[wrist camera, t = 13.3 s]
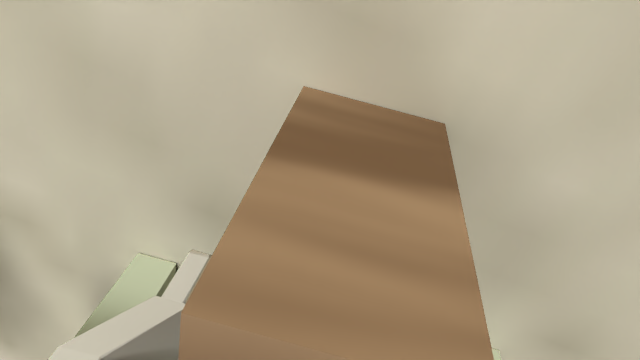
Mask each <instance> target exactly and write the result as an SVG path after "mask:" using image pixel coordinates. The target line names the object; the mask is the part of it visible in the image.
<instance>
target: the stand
mask: <svg viewBox="0 0 640 360" xmlns="http://www.w3.org/2000/svg"><path fill="white" fill-rule="evenodd" d="M175 274H176V263H173V262H169V261H166V260H162V259H158V258H155V257H151V256H147V255H143V254H140V253H138V254H137V255H136V257H135V258H134V259H133V261H132V262H131V263H130V265H129V266H128V267H127V269H126V270H125V271H124V273H123V274H122V275H121V277H120V278H119V279H118V280H117V282H116V283H115V284H114V286H113V287H112V288H111V290H110V291H109V292H108V294H107V295H106V296H105V298H104V299H103V300H102V302H101V303H100V304H99V306H98V307H97V308H96V309H95V311H94V312H93V313H92V315H91V316H90V317H89V319H88V320H87V321H86V323H85V324H84V325H83V327H82V328H81V329H80V331H79V332H78V333H77V335H76V336H75V337H77V336H79V335H81V334H83V333H85V332H87V331H88V330H90V329H92V328H94V327H96V326H98V325H100V324H102V323H104V322H106V321H108V320H110V319H111V318H113V317H115V316H117V315H119V314H121V313H123V312H125V311H127V310H129V309H131V308H133V307H134V306H136V305H138V304H140V303H142V302H144V301H146V300H148V299H150V298H152V297H154V296H159V297H161V296H162V295H163V293H164V292H165V290H166V288H167V287H168V285H169V283H170V282H171V280H172V279H173V277H174V275H175ZM75 337H74V338H75ZM492 353H493V358H494V360H501V357H500V353H499V350H496V349H492Z"/></svg>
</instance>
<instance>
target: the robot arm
mask: <svg viewBox="0 0 640 360" xmlns="http://www.w3.org/2000/svg"><path fill="white" fill-rule="evenodd" d="M211 256H212V255H209V254H206V253H203V252H199V251H196V250H191V251H190V252H189V253H188V254H187V256H186V258H185V259H184V261H183V262H182V264H181V266H180V267H179V269H178V270H177V272H176V274H175V275H174V277H173V279H172V280H171V282H170V283H169V285H168V287H167V288H166V290H165V292H164V293H163V295H162V296H161V297H159V296H154V297H152V298H150V299H148V300H146V301H144V302H142V303H140V304H138V305H136V306H134V307H133V308H131V309H129V310H127V311H125V312H123V313H121V314H119V315H117V316H115V317H113V318H111V319H110V320H108V321H106V322H104V323H102V324H100V325H98V326H96V327H94V328H92V329H90V330H88V331H87V332H85V333H83V334H81V335H79V336H77V337H75V338H73V339H71V340H69V341H67V342H66V343H64V344H62V345H60V346H58V347H57V349H56V350H55V351H54V352H53V354H52V355H51V356H50V357H49V359H48V360H178V356H179V338H180V321H181V312H182V310H183V308H184V306H185V304H186V303H187V301H188V299H189V297H190V295H191V293H192V292H193V290H194V288H195V286H196V284H197V282H198V280H199V279H200V277H201V275H202V273H203V271H204V269H205V268H206V266H207V264H208V262H209V260H210V258H211Z"/></svg>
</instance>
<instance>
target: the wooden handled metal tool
mask: <svg viewBox="0 0 640 360" xmlns="http://www.w3.org/2000/svg"><path fill="white" fill-rule="evenodd" d="M178 360H494V358H493V353H492V348H491V343H490V338H489V334H488V329H487V324H486V319H485V314H484V309H483V305H482V300H481V295H480V290H479V285H478V281H477V276H476V271H475V266H474V261H473V257H472V252H471V247H470V242H469V237H468V233H467V228H466V223H465V218H464V213H463V209H462V204H461V199H460V194H459V189H458V184H457V180H456V175H455V170H454V165H453V160H452V156H451V151H450V146H449V141H448V136H447V132H446V127H445V124H443V123H440V122H436V121H432V120H428V119H425V118H421V117H417V116H413V115H410V114H406V113H402V112H398V111H395V110H391V109H387V108H383V107H380V106H376V105H372V104H368V103H365V102H361V101H357V100H353V99H350V98H346V97H342V96H338V95H335V94H331V93H327V92H323V91H320V90H316V89H312V88H308V87H305V86H304V87H303V89H302V90H301V92H300V94H299V96H298V98H297V100H296V101H295V103H294V105H293V107H292V109H291V111H290V113H289V114H288V116H287V118H286V120H285V122H284V124H283V125H282V127H281V129H280V131H279V133H278V135H277V137H276V138H275V140H274V142H273V144H272V146H271V148H270V149H269V151H268V153H267V155H266V157H265V159H264V161H263V162H262V164H261V166H260V168H259V170H258V172H257V173H256V175H255V177H254V179H253V181H252V183H251V185H250V186H249V188H248V190H247V192H246V194H245V196H244V197H243V199H242V201H241V203H240V205H239V207H238V209H237V210H236V212H235V214H234V216H233V218H232V220H231V221H230V223H229V225H228V227H227V229H226V231H225V232H224V234H223V236H222V238H221V240H220V242H219V244H218V245H217V247H216V249H215V251H214V253H213V255H212V256H211V258H210V260H209V262H208V264H207V266H206V268H205V269H204V271H203V273H202V275H201V277H200V279H199V280H198V282H197V284H196V286H195V288H194V290H193V292H192V293H191V295H190V297H189V299H188V301H187V303H186V304H185V306H184V308H183V310H182V312H181V321H180V338H179V356H178Z"/></svg>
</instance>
